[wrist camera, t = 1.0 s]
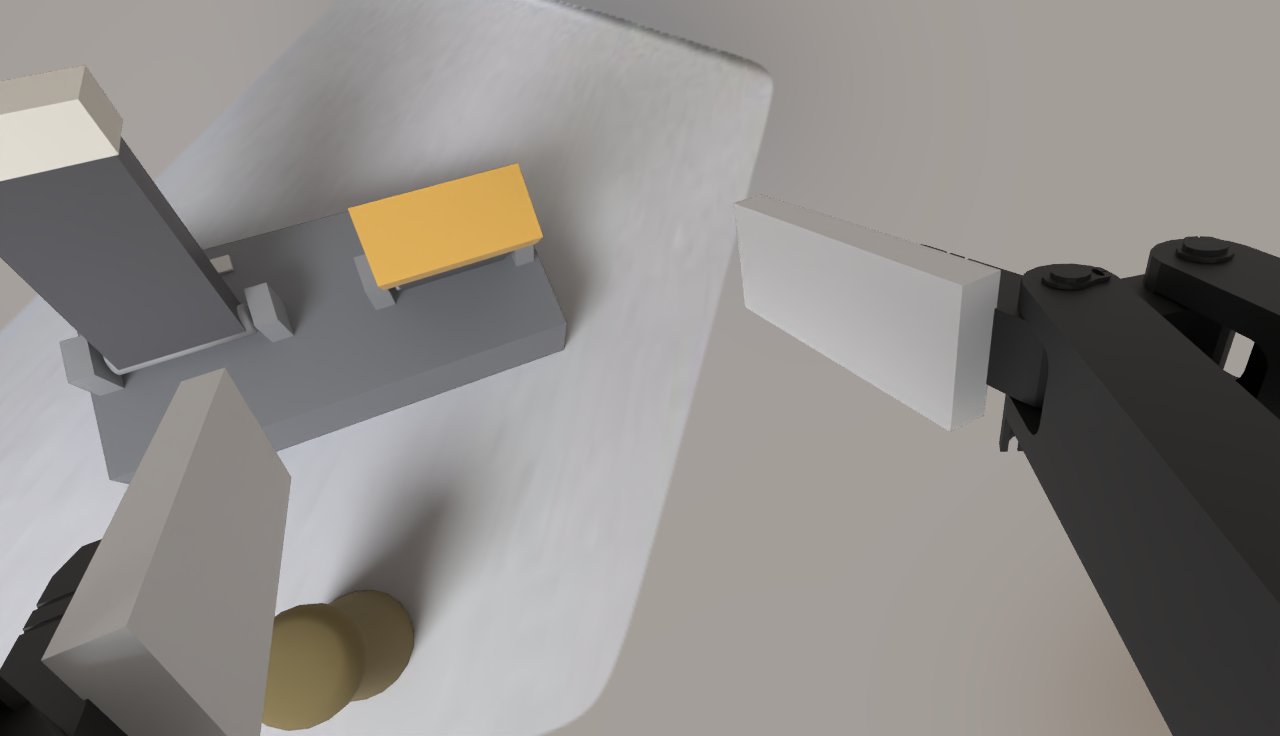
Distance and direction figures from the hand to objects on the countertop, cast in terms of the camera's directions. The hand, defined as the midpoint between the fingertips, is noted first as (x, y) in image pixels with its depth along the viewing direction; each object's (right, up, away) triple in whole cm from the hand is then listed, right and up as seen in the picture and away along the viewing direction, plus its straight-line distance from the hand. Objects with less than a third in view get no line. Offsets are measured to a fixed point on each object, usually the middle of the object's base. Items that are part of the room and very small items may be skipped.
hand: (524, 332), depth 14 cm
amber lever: (-9, +6, +25) cm, 27 cm away
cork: (-14, -17, +23) cm, 32 cm away
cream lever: (-23, +1, +21) cm, 31 cm away
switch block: (-17, +1, +29) cm, 34 cm away
